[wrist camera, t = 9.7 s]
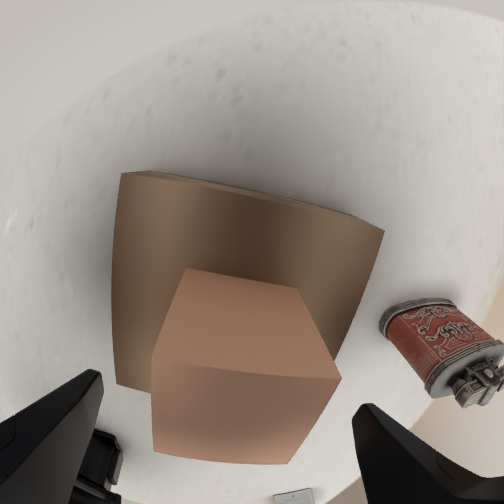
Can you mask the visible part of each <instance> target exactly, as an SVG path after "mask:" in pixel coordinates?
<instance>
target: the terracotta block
mask: <svg viewBox="0 0 504 504" xmlns="http://www.w3.org/2000/svg"><path fill="white" fill-rule="evenodd" d="M341 379H342V377H341V375H340V373H339V371H338V369H337V367H336V365H335V363H334V361H333V359H332V357H331V355H330V353H329V351H328V349H327V347H326V345H325V343H324V341H323V339H322V337H321V335H320V333H319V331H318V329H317V327H316V325H315V323H314V321H313V319H312V317H311V315H310V313H309V311H308V309H307V307H306V305H305V303H304V301H303V299H302V297H301V295H300V293H299V291H298V289H297V288H294V287H288V286H282V285H277V284H271V283H265V282H259V281H254V280H248V279H243V278H237V277H232V276H227V275H221V274H216V273H211V272H206V271H201V270H195V269H190V268H186V269H185V271H184V274H183V276H182V278H181V281H180V283H179V286H178V288H177V290H176V293H175V295H174V298H173V300H172V303H171V305H170V308H169V310H168V313H167V316H166V318H165V321H164V323H163V326H162V328H161V331H160V334H159V336H158V339H157V342H156V344H155V347H154V350H153V353H152V355H151V407H152V432H153V447H154V452H158V453H163V454H168V455H173V456H179V457H185V458H191V459H198V460H206V461H214V462H225V463H238V464H288V462H289V461H290V460H291V458H292V457H293V456H294V454H295V453H296V451H297V450H298V449H299V447H300V446H301V444H302V443H303V441H304V440H305V438H306V437H307V435H308V434H309V432H310V431H311V429H312V428H313V426H314V425H315V423H316V422H317V420H318V418H319V417H320V415H321V414H322V412H323V410H324V409H325V407H326V405H327V404H328V402H329V400H330V399H331V397H332V395H333V393H334V392H335V390H336V388H337V386H338V385H339V383H340V381H341Z"/></svg>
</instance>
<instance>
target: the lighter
mask: <svg viewBox="0 0 504 504" xmlns="http://www.w3.org/2000/svg"><path fill="white" fill-rule="evenodd" d="M379 330H380V332H381V333H382V335H383V336H384V337H385V338H386V339H387V340H389V341H391V342H392V343H393V344H394V345H395V347H396V348H397V349H398V350H399V351H400V353H401V354H402V355H403V356H404V358H405V359H406V360H407V361H408V363H409V364H410V365H411V367H412V368H413V369H414V370H415V372H416V373H417V374H418V376H419V377H420V378H421V379H422V381H423V382H424V383H425V390H426V391H427V392H428V394H429V395H430V396H431V398H439V397H444V396H448V395H452V394H454V395H455V399H456V401H457V402H458V403H459V405H460V406H461V407H462V408H463V409H466V408H468V407H470V406H472V405H474V404H478V405H481V406H484V405H486V404H488V403H489V401H490V400H491V398H492V397H493V395H494V394H495V392H496V391H498V392H499V391H501V390H502V389H504V365H503V366H501V367H499V368H498V365H499V363H500V362H501V360H502V358H503V356H504V344H503V343H502V342H501V341H500V340H495V339H494V338H492V337H491V336H490V335H489V334H488V333H486V332H485V331H484V330H483V329H482V328H480V327H479V326H478V325H477V324H475V323H474V322H473V321H472V320H471V319H469V318H468V317H467V316H465V315H464V314H463V313H462V312H460V311H459V310H458V309H457V306H456V305H455V304H454V303H452V302H451V301H450V300H447V299H441V298H423V299H418V300H412V301H408V302H405V303H401V304H398V305H394V306H392V307H390V308H389V309H388V310H386V311H385V313H384V314H383V315H382V317H381V320H380V322H379Z"/></svg>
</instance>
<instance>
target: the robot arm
mask: <svg viewBox="0 0 504 504" xmlns="http://www.w3.org/2000/svg"><path fill="white" fill-rule="evenodd" d="M103 393H104V387H103V381H102V375H101V373H100V372H99V371H96V370H93V369H87V370H86V371H84V372H83V373H81V374H79V375H78V376H76V377H75V378H73V379H71V380H70V381H68V382H67V383H65V384H63V385H62V386H60V387H59V388H57V389H55V390H54V391H52V392H51V393H49V394H47V395H46V396H44V397H42V398H41V399H39V400H38V401H36V402H34V403H33V404H31V405H29V406H28V407H26V408H25V409H23V410H21V411H20V412H18V413H16V414H15V416H14V415H13V416H11V417H10V418H8V419H6V420H5V421H3V422H1V423H0V504H121V495H119V494H117V493H116V494H115V493H113V492H110V489H111V485H117V482H118V478H119V474H120V470H121V466H122V462H123V458H122V454H121V451H120V450H119V448H118V445H117V441H116V438H115V437H113V436H111V435H108V434H105V433H102V432H99V431H96V430H94V427H95V423H96V419H97V415H98V412H99V408H100V404H101V401H102V397H103ZM352 428H353V434H354V441H355V449H356V455H357V459H358V463H359V467H360V471H361V476H362V479H363V484H364V488H365V492H366V497H367V501H368V504H504V476H501V477H493V478H486V477H481V476H479V475H476V474H475V473H473V472H471V471H468V470H467V469H465V468H463V467H461V466H459V465H458V464H456V463H454V462H453V461H451V460H449V459H448V458H446V457H445V456H443V455H442V454H441V453H439V452H437V451H436V450H435V449H433V448H432V447H430V446H429V445H428V444H426V443H425V442H424V441H422V440H421V439H419V438H418V437H417V436H415V435H414V434H413V433H411V432H410V431H409V430H407V429H406V428H405V427H403V426H402V425H401V424H399V423H398V422H397V421H395V420H394V419H393V418H391V417H390V416H389V415H387V414H386V413H385V412H384V411H382V410H381V409H380V408H378V407H377V406H376V405H374V404H373V403H365V404H362V405H361V406H360V407H359V409H358V410H357V412H356V413H355V415H354V416H353V418H352Z"/></svg>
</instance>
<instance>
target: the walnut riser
mask: <svg viewBox="0 0 504 504" xmlns="http://www.w3.org/2000/svg"><path fill="white" fill-rule="evenodd" d="M384 232H385V231H384V230H382V229H380V228H378V227H376V226H374V225H372V224H369V223H367V222H365V221H363V220H361V219H359V218H357V217H354V216H352V215H349V214H346V213H342V212H338V211H335V210H331V209H327V208H324V207H320V206H316V205H312V204H308V203H304V202H300V201H296V200H292V199H288V198H284V197H280V196H276V195H271V194H267V193H263V192H258V191H254V190H249V189H244V188H240V187H235V186H230V185H225V184H220V183H215V182H210V181H205V180H200V179H194V178H189V177H183V176H177V175H171V174H165V173H159V172H153V171H140V172H129V173H121V179H120V186H119V193H118V201H117V209H116V218H115V229H114V241H113V257H112V290H111V304H112V336H113V352H114V364H115V374H116V383H117V384H118V385H122V386H125V387H129V388H132V389H136V390H140V391H144V392H148V393H151V355H152V353H153V350H154V347H155V344H156V342H157V339H158V336H159V334H160V331H161V328H162V326H163V323H164V321H165V318H166V316H167V313H168V310H169V308H170V305H171V303H172V300H173V298H174V295H175V293H176V290H177V288H178V286H179V283H180V281H181V278H182V276H183V274H184V271H185V269H186V268H190V269H195V270H201V271H206V272H211V273H216V274H221V275H227V276H232V277H237V278H243V279H248V280H254V281H259V282H265V283H271V284H277V285H282V286H288V287H294V288H297V289H298V291H299V293H300V295H301V297H302V299H303V301H304V303H305V305H306V307H307V309H308V311H309V313H310V315H311V317H312V319H313V321H314V323H315V325H316V327H317V329H318V331H319V333H320V335H321V337H322V339H323V341H324V343H325V345H326V347H327V349H328V351H329V353H330V355H331V357H332V359H333V361H334V360H335V358H336V356H337V354H338V352H339V350H340V348H341V345H342V343H343V341H344V339H345V337H346V334H347V332H348V330H349V327H350V325H351V323H352V320H353V318H354V316H355V313H356V311H357V308H358V306H359V303H360V301H361V298H362V296H363V293H364V290H365V288H366V285H367V282H368V280H369V277H370V274H371V271H372V269H373V266H374V263H375V260H376V257H377V254H378V251H379V248H380V245H381V241H382V238H383V235H384Z"/></svg>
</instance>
